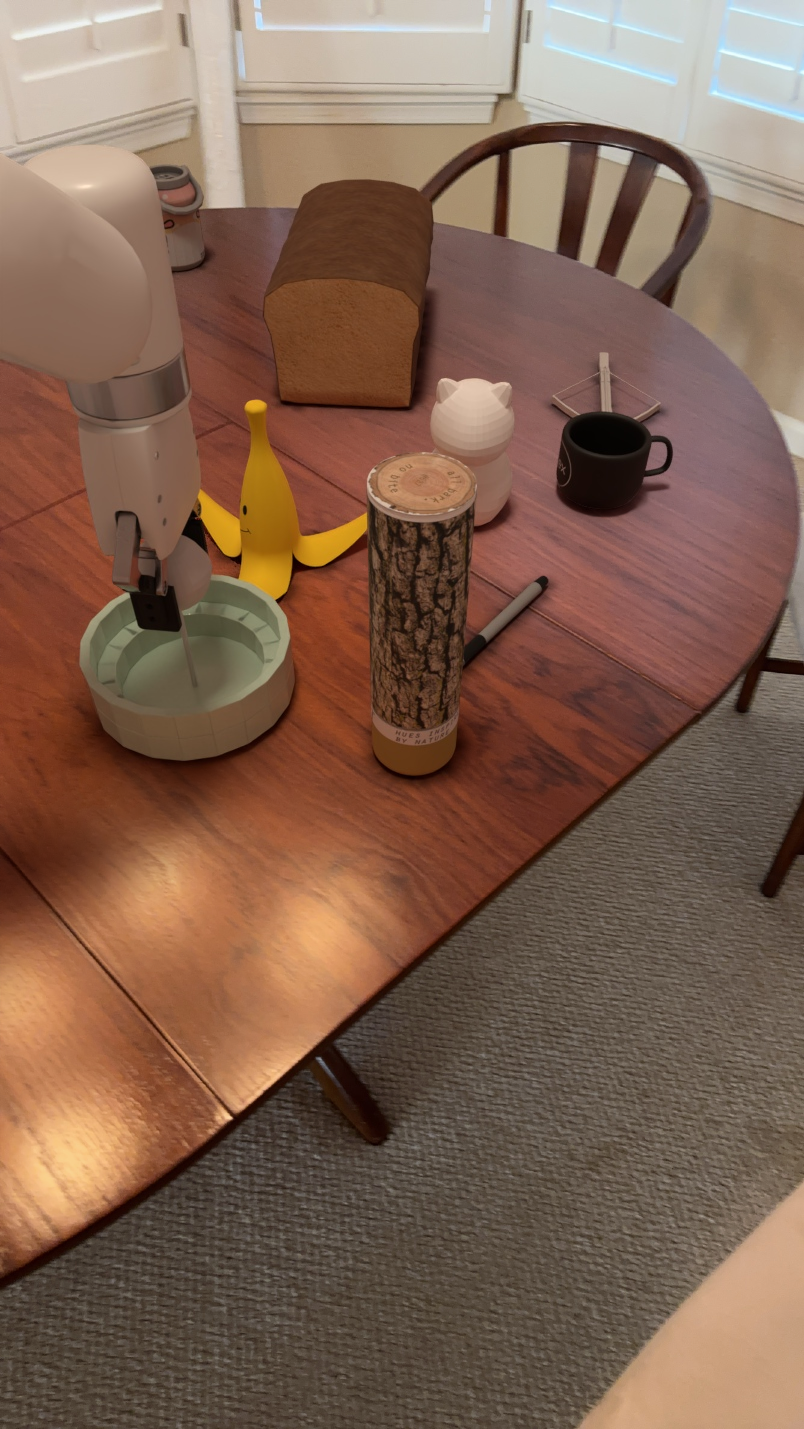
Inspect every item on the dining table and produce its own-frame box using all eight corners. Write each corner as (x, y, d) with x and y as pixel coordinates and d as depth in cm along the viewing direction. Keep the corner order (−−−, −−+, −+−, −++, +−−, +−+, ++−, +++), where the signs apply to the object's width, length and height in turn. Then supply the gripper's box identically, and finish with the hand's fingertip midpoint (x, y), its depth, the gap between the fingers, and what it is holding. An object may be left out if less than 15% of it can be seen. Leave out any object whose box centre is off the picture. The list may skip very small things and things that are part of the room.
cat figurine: (418, 536, 95) (422, 399, 84) (429, 467, 103) (434, 334, 92) (507, 543, 94) (523, 406, 83) (511, 473, 103) (526, 340, 92)
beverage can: (222, 263, 139) (211, 173, 130) (176, 280, 135) (161, 189, 126) (183, 245, 143) (170, 157, 134) (138, 261, 139) (120, 172, 130)
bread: (433, 300, 131) (437, 173, 119) (421, 412, 111) (424, 273, 99) (304, 295, 132) (295, 168, 120) (268, 405, 112) (254, 266, 100)
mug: (564, 520, 97) (574, 460, 92) (545, 471, 103) (553, 412, 98) (677, 514, 98) (693, 453, 93) (652, 465, 104) (666, 406, 99)
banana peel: (237, 636, 84) (210, 475, 72) (193, 517, 96) (164, 362, 84) (409, 596, 88) (413, 437, 76) (347, 486, 100) (341, 333, 88)
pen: (549, 587, 90) (551, 576, 89) (448, 684, 81) (449, 674, 80) (537, 581, 90) (539, 571, 89) (436, 677, 81) (436, 667, 80)
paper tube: (471, 737, 77) (497, 473, 58) (427, 793, 73) (441, 528, 55) (400, 704, 79) (404, 440, 61) (355, 756, 75) (344, 491, 57)
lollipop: (174, 721, 77) (138, 577, 66) (147, 677, 80) (108, 533, 69) (243, 692, 79) (220, 548, 68) (214, 651, 82) (187, 507, 71)
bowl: (68, 756, 75) (47, 705, 71) (131, 618, 86) (117, 566, 82) (272, 776, 74) (265, 725, 70) (310, 633, 85) (306, 581, 81)
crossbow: (660, 441, 109) (664, 426, 107) (550, 434, 109) (552, 418, 108) (652, 366, 119) (656, 350, 117) (551, 359, 119) (554, 344, 118)
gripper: (113, 310, 65) (160, 522, 78) (16, 447, 53) (89, 669, 67) (220, 317, 65) (248, 529, 78) (145, 456, 53) (193, 678, 66)
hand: (175, 592), depth 72 cm, fingers open, 7 cm apart
